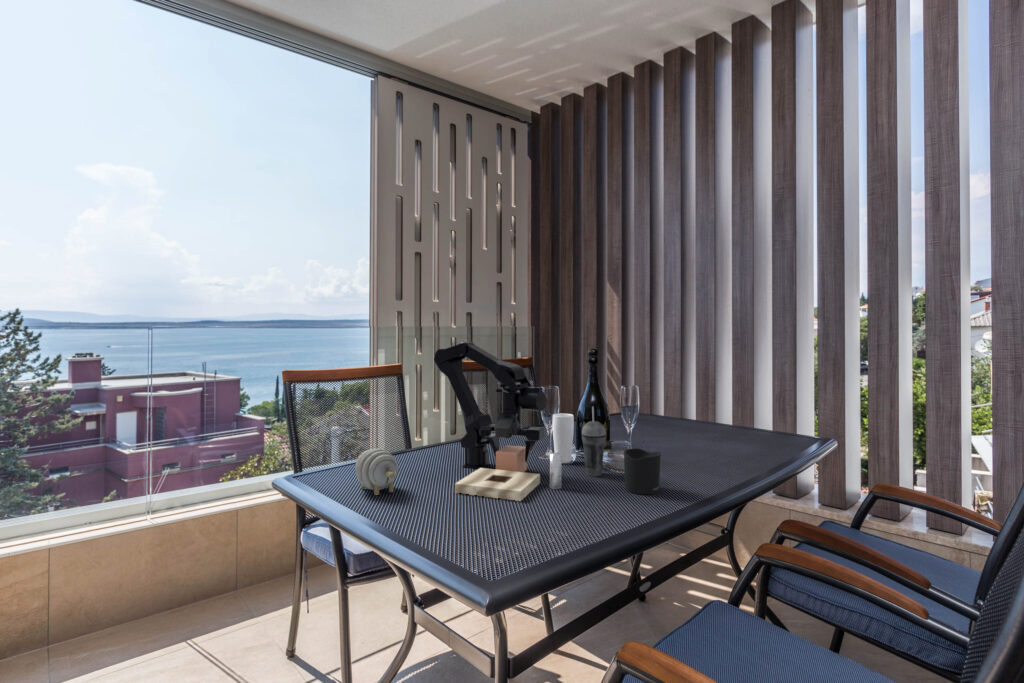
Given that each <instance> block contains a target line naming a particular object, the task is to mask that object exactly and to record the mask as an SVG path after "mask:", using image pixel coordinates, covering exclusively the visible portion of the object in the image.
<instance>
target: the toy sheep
mask: <svg viewBox="0 0 1024 683" xmlns="http://www.w3.org/2000/svg"><path fill="white" fill-rule="evenodd" d="M354 466H355V469H354V470H355V474H356V478H357V480H358V481H359V483H360V484H361V485H360V487H361V488H362V489H361V490H365V489H364V488H366V489H368V490H370V491H371V490H373V493H374V496H375V495H380V491H381V490H383V489H385V488H387V487H388V493H390V492H392V493H393V492H394V481H395V479H396V477H397V475H398V471H399V466H398V461H397V460H396V457H395V456H394V455H393V454H392V453H391V452H389V451H388V450H386V449H383V448H371V449H367V450H365V451H363V452H362V453H361V454H359V456H358V457H357V460H356V462H355V465H354Z"/></svg>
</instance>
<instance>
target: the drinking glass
mask: <svg viewBox="0 0 1024 683" xmlns="http://www.w3.org/2000/svg"><path fill="white" fill-rule="evenodd" d="M574 420H575V416H574V414H572V413H562V412H561V413H560V412H559V413H554V414H552V422H551V423H552V437H553V438H552V439H553V451H554V452H553V453H561V454H562V464H569V463H571V462H572V454H573V453H572V451H573V442H574V441H573V440H574V439H573V438H574V430H575V428H574V427H575V421H574Z"/></svg>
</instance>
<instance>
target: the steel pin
mask: <svg viewBox="0 0 1024 683" xmlns="http://www.w3.org/2000/svg"><path fill="white" fill-rule="evenodd" d="M562 464H563V463H562V454H561V453H554V452H550V453H549V488H550V489H552V490H559V489H562V475H563V474H562V470H563V469H562V466H563V465H562Z"/></svg>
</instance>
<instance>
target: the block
mask: <svg viewBox="0 0 1024 683" xmlns="http://www.w3.org/2000/svg"><path fill="white" fill-rule="evenodd" d="M525 450H526V446H521V445H510V444H509V445H508V444H507V445H505V446H503V447H502V448H499V450H498V451H497V452H496V458H495V469H497V470H506V471H516V472H525V473H526V471H528V462H525Z"/></svg>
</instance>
